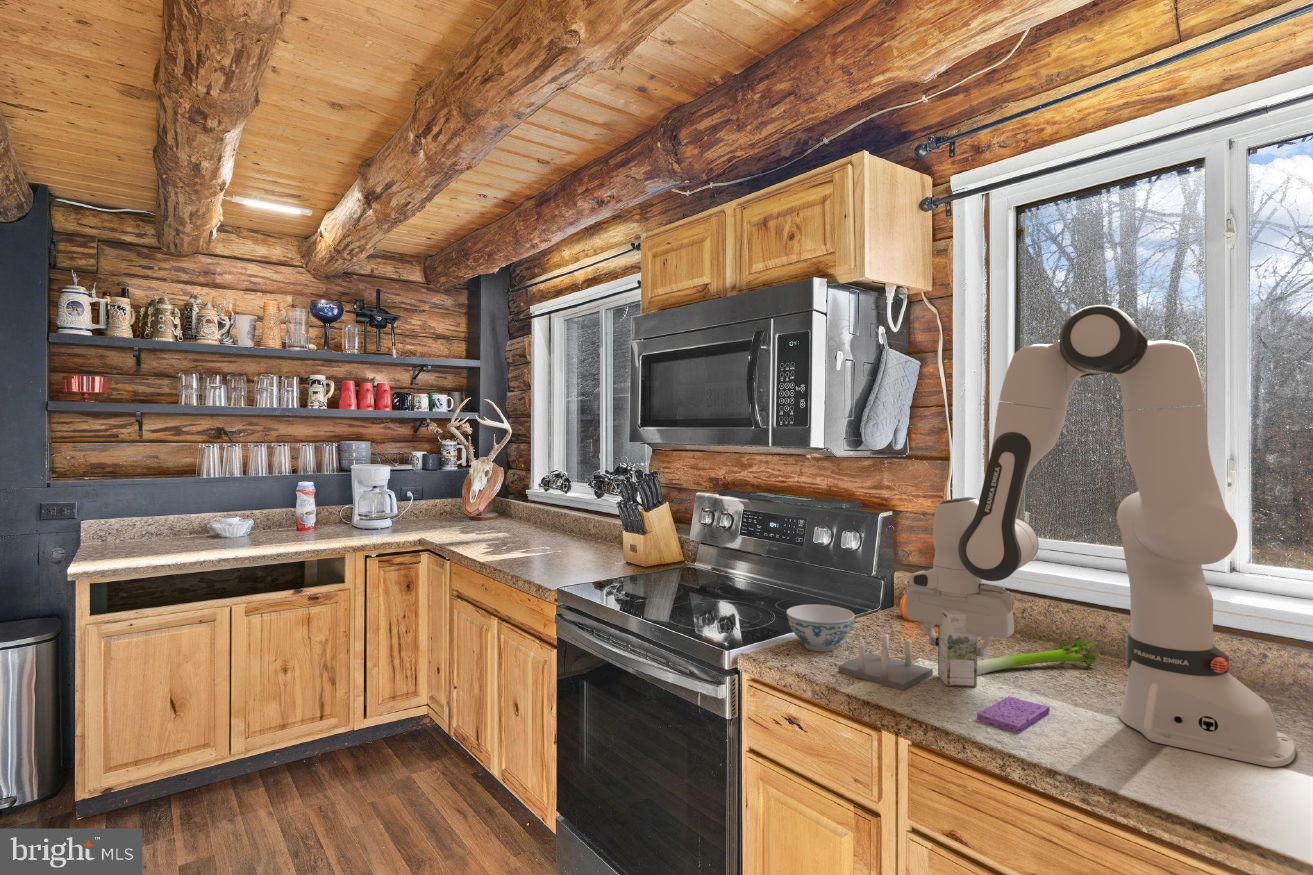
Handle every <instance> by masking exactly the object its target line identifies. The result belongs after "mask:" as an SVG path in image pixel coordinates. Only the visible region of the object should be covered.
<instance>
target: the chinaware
mask: <svg viewBox="0 0 1313 875" xmlns="http://www.w3.org/2000/svg"><path fill="white" fill-rule="evenodd" d="M786 617H787V620H788V624H789V626H790V629H791V630H792V632H793V633H794V634H795V635H794V636H796V637H797V639H799V640H800V641H801V642H803V643H804V646H805V648H807V649H808V650H810V651H816V652H830V651H833V650H835V649H836V645H838V644H840V643H841V642H842V641H843V640H845V639H846V637H847V636H848V635H849V633H850V632H851V629H852V627H853V625H854V624H853V623H854V620H855V613H854V612H852V610H850V609H846V608H844V607H841V606H835V605H828V604H799V605H794V606H792V607H789V608H788V609H786Z"/></svg>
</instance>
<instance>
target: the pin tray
mask: <svg viewBox="0 0 1313 875" xmlns="http://www.w3.org/2000/svg"><path fill="white" fill-rule="evenodd" d="M889 640H890V639H889V635H888V634H882V649H881V650H880V651H881V652H880V654H881V655H880V654H877V653H876V654H875V653H873V652H869V653H867V654H866V645H865V644H863V643H858V657H856V658H853V659H852V660H850V661H847V662H845V663H842V664H839V665H838V666H837V667H838V672H839V673H842V674H845V675H848V676H852V677H855V678H859V679H862V680H864V681H865V680H866V681H868V682H871V683H876V684H879V685H882V686H886V687H889V688H892V689H896V690H900V691H904V690H907V689H909V688H911V687H913V686H914V685H916V684H919V683H920V682H922V681H924V680H926V679H929V678H930V677H932V676H933V671H934V670H933V668H929V667H925V666H921V665H918V664H914V663H912V640H909V639H905V640H904V661H903V660H899V659H895V658H891V657H889V654H890V652H889V651H890V650H889V644H890V642H889Z"/></svg>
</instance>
